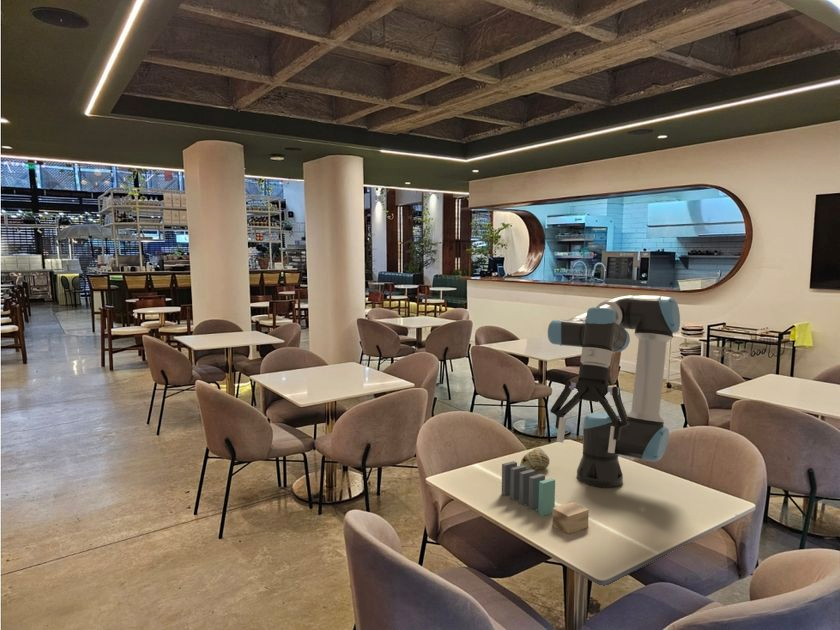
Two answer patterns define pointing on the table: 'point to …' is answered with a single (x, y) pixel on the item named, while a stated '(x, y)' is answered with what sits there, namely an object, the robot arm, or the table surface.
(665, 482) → the table surface
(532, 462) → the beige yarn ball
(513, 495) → the domino
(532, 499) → the domino
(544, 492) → the domino
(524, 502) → the domino
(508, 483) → the domino
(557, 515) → the stop block
